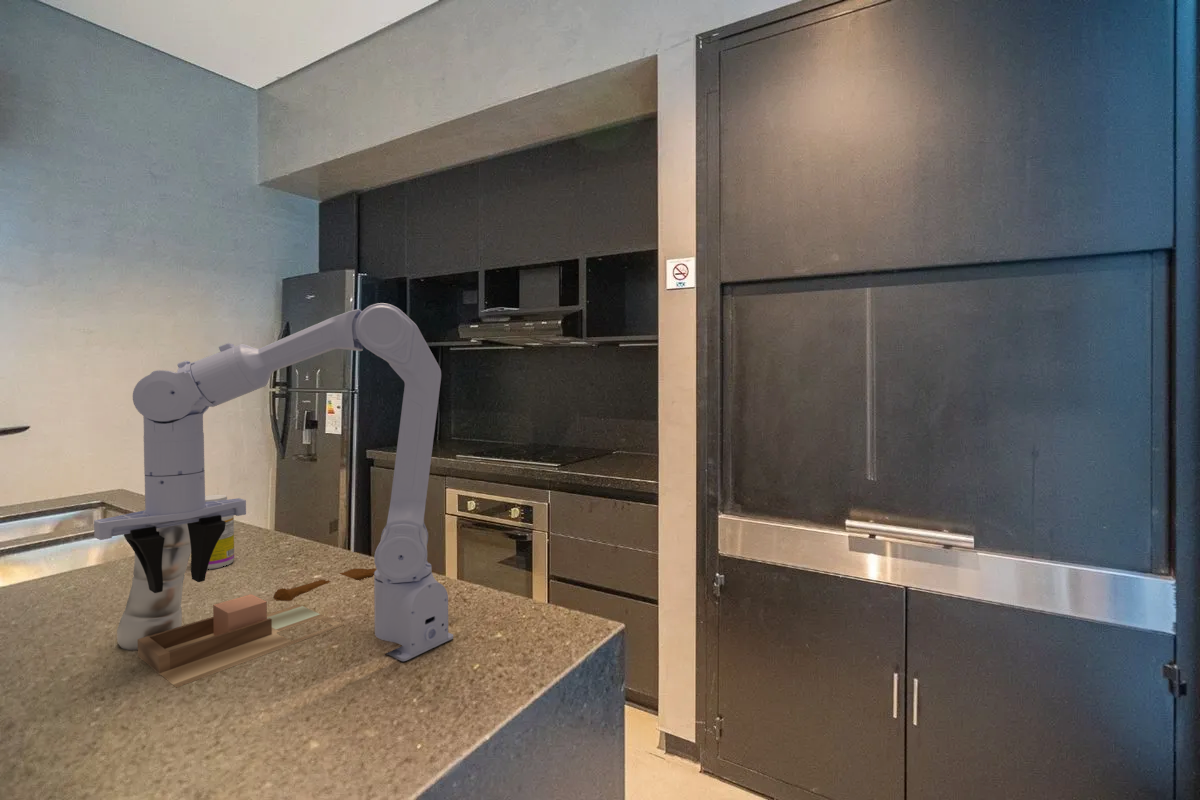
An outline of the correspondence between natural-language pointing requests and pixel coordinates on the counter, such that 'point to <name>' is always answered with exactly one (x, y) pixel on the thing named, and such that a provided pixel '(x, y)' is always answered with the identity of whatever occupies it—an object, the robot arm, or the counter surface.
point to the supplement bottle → (223, 540)
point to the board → (221, 644)
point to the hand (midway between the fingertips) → (177, 585)
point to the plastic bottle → (162, 608)
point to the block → (238, 613)
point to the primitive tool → (319, 584)
